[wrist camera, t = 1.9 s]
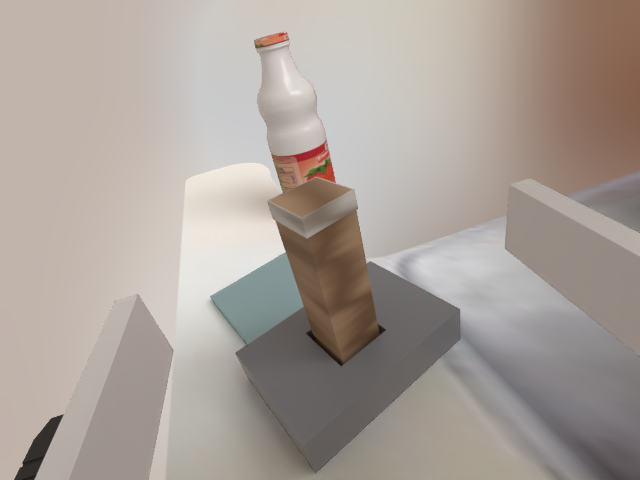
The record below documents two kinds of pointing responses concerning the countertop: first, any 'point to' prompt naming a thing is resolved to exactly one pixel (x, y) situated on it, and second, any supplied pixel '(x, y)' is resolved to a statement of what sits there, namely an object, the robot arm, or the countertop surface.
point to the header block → (348, 366)
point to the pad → (260, 299)
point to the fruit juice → (291, 116)
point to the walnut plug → (328, 264)
